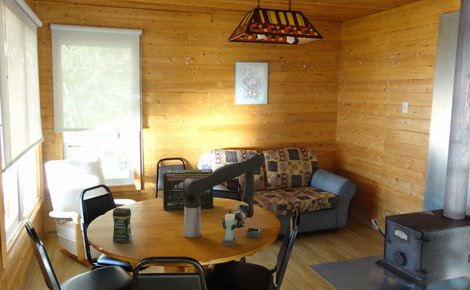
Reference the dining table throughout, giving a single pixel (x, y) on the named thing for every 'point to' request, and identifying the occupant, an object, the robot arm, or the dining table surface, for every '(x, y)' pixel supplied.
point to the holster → (229, 242)
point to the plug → (229, 226)
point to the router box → (174, 188)
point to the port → (253, 233)
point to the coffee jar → (122, 225)
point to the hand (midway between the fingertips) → (228, 227)
